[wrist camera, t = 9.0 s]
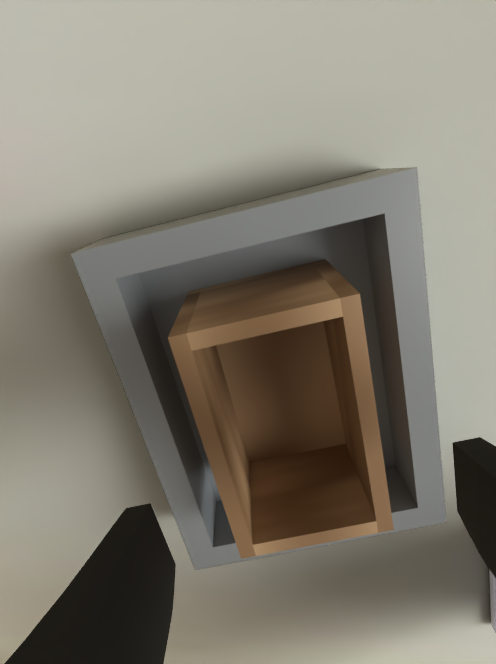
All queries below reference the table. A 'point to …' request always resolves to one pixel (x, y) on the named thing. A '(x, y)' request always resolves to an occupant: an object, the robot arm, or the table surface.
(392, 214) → the big crate
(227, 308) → the small crate
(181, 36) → the table surface
